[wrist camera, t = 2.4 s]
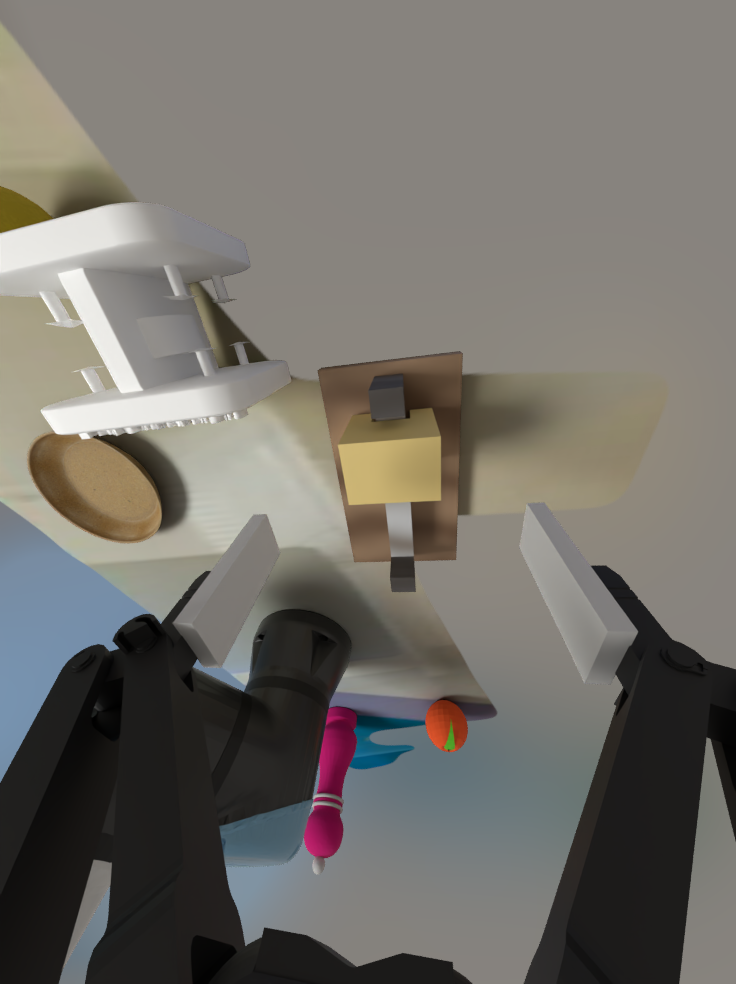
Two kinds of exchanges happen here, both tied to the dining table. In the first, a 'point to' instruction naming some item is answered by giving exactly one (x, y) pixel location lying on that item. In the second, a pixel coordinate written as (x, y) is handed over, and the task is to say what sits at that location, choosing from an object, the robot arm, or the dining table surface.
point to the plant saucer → (95, 486)
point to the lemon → (18, 211)
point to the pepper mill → (331, 786)
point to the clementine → (446, 725)
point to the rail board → (420, 395)
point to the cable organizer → (138, 315)
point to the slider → (392, 459)
